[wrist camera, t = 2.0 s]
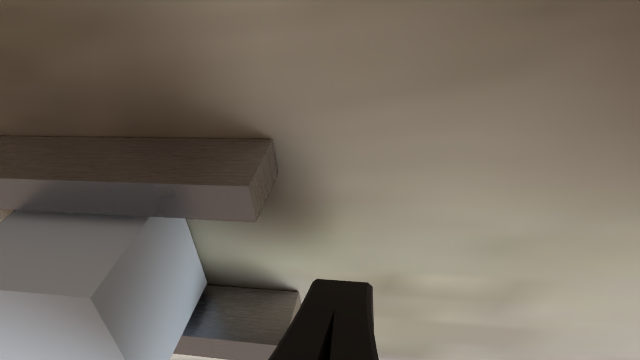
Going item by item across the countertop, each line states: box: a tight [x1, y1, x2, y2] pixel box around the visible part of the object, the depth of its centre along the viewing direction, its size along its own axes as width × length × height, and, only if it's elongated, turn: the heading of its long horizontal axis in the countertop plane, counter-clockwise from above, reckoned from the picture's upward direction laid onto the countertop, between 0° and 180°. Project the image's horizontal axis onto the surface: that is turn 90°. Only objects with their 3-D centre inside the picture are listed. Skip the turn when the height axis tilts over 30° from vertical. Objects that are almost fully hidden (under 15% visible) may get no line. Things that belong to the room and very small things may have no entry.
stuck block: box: [0, 210, 207, 360], centre depth 12 cm, size 4×4×4 cm
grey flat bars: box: [0, 136, 301, 360], centre depth 13 cm, size 9×7×2 cm
